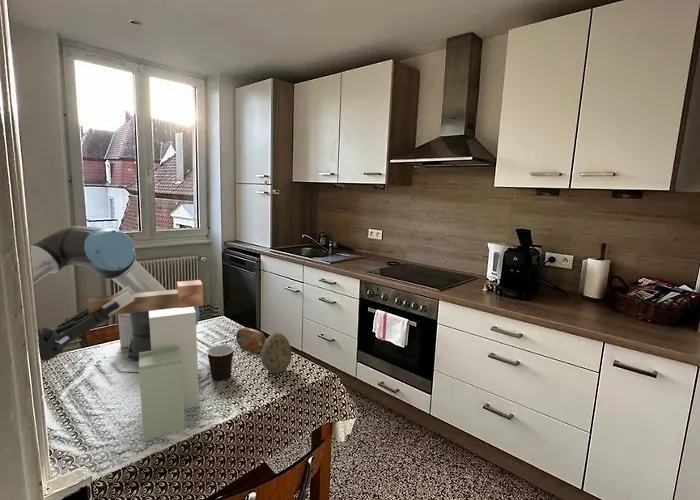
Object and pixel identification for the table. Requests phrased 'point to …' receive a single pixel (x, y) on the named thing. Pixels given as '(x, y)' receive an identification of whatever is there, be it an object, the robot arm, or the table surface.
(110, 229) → the robot arm
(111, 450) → the table surface
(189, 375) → the tall white pillar
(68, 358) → the table surface
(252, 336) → the tin
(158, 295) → the bar
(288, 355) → the decorative egg
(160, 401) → the mint green upright block
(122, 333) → the cracker box
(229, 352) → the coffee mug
